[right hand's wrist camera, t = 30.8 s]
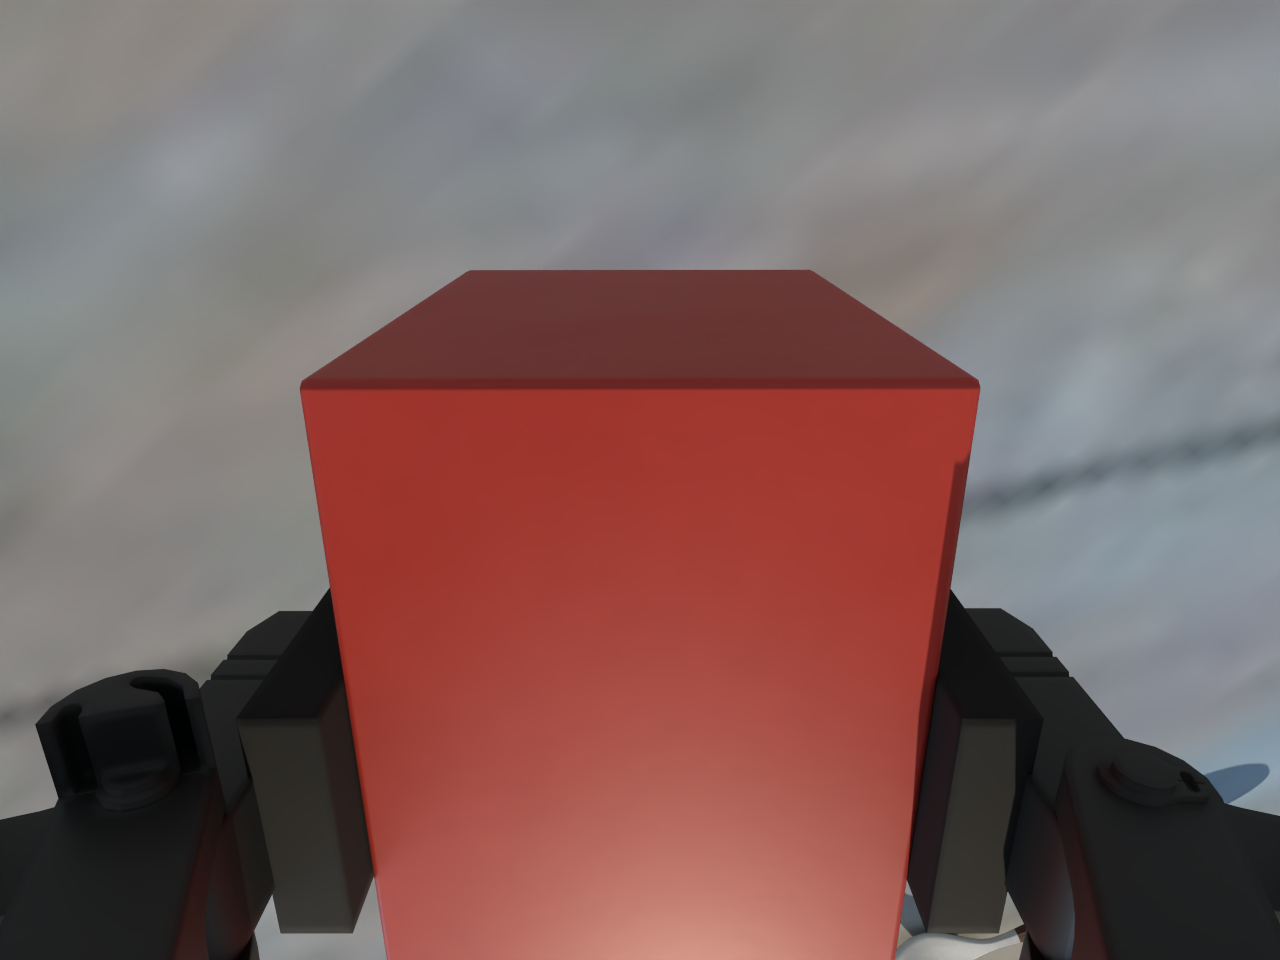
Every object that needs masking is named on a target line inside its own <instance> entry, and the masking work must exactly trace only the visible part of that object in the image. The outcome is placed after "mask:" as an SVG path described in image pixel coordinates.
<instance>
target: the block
mask: <svg viewBox="0 0 1280 960" xmlns="http://www.w3.org/2000/svg"><path fill="white" fill-rule="evenodd" d="M300 393H301V400H302V406H303V413H304V419H305V426H306V432H307V439H308V446H309V452H310V459H311V465H312V472H313V478H314V485H315V491H316V498H317V505H318V511H319V518H320V524H321V531H322V537H323V544H324V550H325V557H326V563H327V570H328V577H329V583H330V590H331V596H332V603H333V609H334V616H335V622H336V629H337V636H338V642H339V649H340V655H341V662H342V668H343V675H344V681H345V688H346V694H347V701H348V708H349V714H350V721H351V727H352V734H353V740H354V747H355V753H356V760H357V766H358V773H359V780H360V786H361V793H362V799H363V806H364V812H365V819H366V825H367V832H368V839H369V845H370V852H371V858H372V865H373V871H374V878H375V884H376V891H377V897H378V904H379V911H380V917H381V924H382V930H383V937H384V943H385V950H386V956H387V960H895V954H896V948H897V941H898V934H899V927H900V921H901V914H902V907H903V901H904V894H905V887H906V881H907V874H908V867H909V861H910V854H911V847H912V841H913V834H914V827H915V821H916V814H917V807H918V801H919V794H920V787H921V781H922V774H923V767H924V761H925V754H926V747H927V741H928V734H929V727H930V721H931V714H932V707H933V701H934V694H935V687H936V681H937V674H938V667H939V661H940V654H941V647H942V641H943V634H944V627H945V621H946V614H947V607H948V601H949V594H950V587H951V581H952V574H953V567H954V560H955V554H956V547H957V540H958V534H959V527H960V520H961V514H962V507H963V500H964V494H965V487H966V480H967V474H968V467H969V460H970V454H971V447H972V440H973V434H974V427H975V420H976V414H977V407H978V400H979V394H980V385H979V381H978V380H977V379H976V378H974V377H973V376H971V375H970V374H968V373H967V372H965V371H964V370H962V369H961V368H959V367H958V366H956V365H955V364H953V363H952V362H950V361H949V360H947V359H945V358H944V357H942V356H941V355H939V354H938V353H936V352H935V351H933V350H932V349H930V348H929V347H927V346H926V345H924V344H923V343H921V342H920V341H918V340H917V339H915V338H914V337H912V336H911V335H909V334H907V333H906V332H904V331H903V330H901V329H900V328H898V327H897V326H895V325H894V324H892V323H891V322H889V321H888V320H886V319H885V318H883V317H882V316H880V315H879V314H877V313H876V312H874V311H873V310H871V309H869V308H868V307H866V306H865V305H863V304H862V303H860V302H859V301H857V300H856V299H854V298H853V297H851V296H850V295H848V294H847V293H845V292H844V291H842V290H841V289H839V288H838V287H836V286H835V285H833V284H832V283H830V282H828V281H827V280H825V279H824V278H822V277H821V276H819V275H818V274H816V273H815V272H813V271H811V270H470V271H468V272H466V273H464V274H463V275H461V276H460V277H458V278H457V279H455V280H454V281H452V282H451V283H449V284H448V285H446V286H445V287H443V288H442V289H440V290H439V291H437V292H436V293H434V294H433V295H431V296H430V297H428V298H427V299H425V300H424V301H422V302H421V303H419V304H418V305H416V306H415V307H413V308H411V309H410V310H408V311H407V312H405V313H404V314H402V315H401V316H399V317H398V318H396V319H395V320H393V321H392V322H390V323H389V324H387V325H386V326H384V327H383V328H381V329H380V330H378V331H377V332H375V333H374V334H372V335H371V336H369V337H368V338H366V339H365V340H363V341H362V342H360V343H359V344H357V345H356V346H354V347H353V348H351V349H350V350H348V351H347V352H345V353H344V354H342V355H340V356H339V357H337V358H336V359H334V360H333V361H331V362H330V363H328V364H327V365H325V366H324V367H322V368H321V369H319V370H318V371H316V372H315V373H313V374H312V375H310V376H309V377H307V378H306V379H304V380H303V381H302V383H301V386H300Z"/></svg>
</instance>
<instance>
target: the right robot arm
mask: <svg viewBox="0 0 1280 960" xmlns="http://www.w3.org/2000/svg"><path fill="white" fill-rule="evenodd" d="M227 656H228V658H227V660H223V661H222V662H221V664H220V665H219V666H218V667H217V668H216V670H215V671H214V672H213V673H212V674H211V680H207V681H206V682H205V683H204V684H203V685H202V687H201V688H200V689H199V685H198V683H197V682H196V681H195V680H194V679H192V678H191V677H190V676H188V675H187V674H186V673H181V672H176V671H171V670H166V669H157V670H141V671H133V672H129V673H125V674H121V675H117V676H113V677H108V678H105V679H102V680H100V681H98V682H95V683H93V684H90V685H88V686H86V687H83V688H81V689H79V690H76V691H74V692H73V693H71V694H70V695H68V696H67V697H65V698H64V699H62V700H61V701H59V702H58V703H56V704H54V705H53V706H51V707H50V708H49V710H48V711H47V712H46V713H45V714H44V715H43V716H42V717H41V719H40V720H39V721H38V722H37V723H36V724H35V725H36V728H37V732H38V735H39V738H40V741H41V744H42V747H43V750H44V754H45V757H46V760H47V763H48V766H49V769H50V773H51V776H52V779H53V782H54V785H55V788H56V792H57V795H58V798H59V799H58V801H57V803H56V805H55V807H54V808H50V809H47V810H43V811H39V812H34V813H30V814H25V815H20V816H16V817H11V818H6V819H2V820H0V960H260V959H259V952H258V946H257V941H256V937H255V933H254V930H255V928H256V926H257V924H258V922H259V920H260V918H261V915H262V913H263V911H264V909H265V907H266V905H267V903H268V901H269V899H270V897H271V895H272V894H273V899H274V904H275V909H276V913H277V918H278V923H279V928H280V932H281V933H353V931H354V928H355V925H356V923H357V920H358V917H359V915H360V912H361V909H362V906H363V904H364V901H365V898H366V896H367V893H368V890H369V887H370V885H371V882H372V879H373V877H374V871H373V865H372V858H371V852H370V845H369V839H368V832H367V825H366V819H365V812H364V806H363V799H362V793H361V786H360V780H359V773H358V766H357V760H356V753H355V747H354V740H353V734H352V727H351V721H350V714H349V708H348V701H347V694H346V688H345V681H344V675H343V668H342V662H341V655H340V649H339V642H338V636H337V629H336V622H335V616H334V609H333V603H332V596H331V590H330V588H329V589H328V591H327V592H326V594H325V595H324V596H323V598H322V599H321V601H320V602H319V603H318V605H317V606H316V608H315V609H314V610H313V611H279V612H277V613H275V614H274V615H272V616H271V617H269V618H268V619H266V620H264V621H263V622H261V623H260V624H258V625H256V626H255V627H253V628H252V629H250V630H249V631H247V632H246V633H245V635H244V636H243V637H242V638H241V639H240V641H239V642H238V643H237V644H236V645H235V647H234V648H233V649H232V650H231V652H230V653H229V654H228V655H227ZM907 881H908V884H909V886H910V889H911V892H912V894H913V897H914V900H915V903H916V905H917V908H918V911H919V913H920V916H921V919H922V922H923V924H924V927H925V930H926V932H927V933H999V929H1000V925H1001V920H1002V915H1003V910H1004V906H1005V901H1006V896H1007V891H1008V892H1009V894H1010V896H1011V898H1012V900H1013V902H1014V904H1015V906H1016V908H1017V910H1018V912H1019V914H1020V916H1021V918H1022V920H1023V922H1024V924H1025V926H1026V933H1025V937H1024V941H1023V946H1022V950H1021V955H1020V959H1019V960H1280V816H1277V815H1272V814H1268V813H1263V812H1258V811H1254V810H1249V809H1244V808H1240V807H1236V806H1232V805H1229V804H1225V803H1224V802H1223V799H1222V797H1221V796H1220V795H1219V793H1218V792H1217V791H1216V789H1215V788H1214V787H1213V785H1212V784H1211V783H1210V781H1209V780H1208V779H1207V778H1206V777H1205V776H1204V775H1202V774H1201V773H1200V772H1198V771H1197V770H1196V769H1194V768H1193V767H1192V766H1190V765H1189V764H1188V763H1186V762H1185V761H1184V760H1181V759H1179V758H1177V757H1175V756H1173V755H1171V754H1169V753H1167V752H1165V751H1163V750H1161V749H1159V748H1156V747H1153V746H1150V745H1146V744H1143V743H1139V742H1135V741H1132V740H1128V739H1124V738H1123V736H1122V735H1121V734H1120V733H1119V732H1118V730H1117V729H1116V728H1115V727H1114V726H1113V724H1112V723H1111V722H1110V721H1109V720H1108V718H1107V717H1106V716H1105V715H1104V714H1103V712H1102V711H1101V710H1100V709H1099V708H1098V706H1097V705H1096V704H1095V703H1094V702H1093V700H1092V699H1091V698H1090V697H1089V696H1088V694H1087V693H1086V692H1085V691H1084V690H1083V688H1082V687H1081V686H1080V685H1079V684H1078V682H1077V681H1076V680H1075V679H1074V678H1073V677H1069V671H1068V670H1067V669H1066V668H1065V667H1064V665H1063V664H1062V663H1061V662H1060V661H1059V659H1058V658H1057V657H1053V655H1052V651H1051V650H1050V649H1049V647H1048V646H1047V645H1046V644H1045V643H1044V641H1043V640H1042V639H1041V638H1040V637H1039V635H1038V634H1037V633H1036V632H1035V631H1034V629H1033V628H1031V627H1029V626H1028V625H1026V624H1025V623H1023V622H1021V621H1020V620H1018V619H1017V618H1015V617H1014V616H1012V615H1010V614H1009V613H1007V612H1006V611H1004V610H1002V609H1001V608H964V607H963V606H962V604H961V603H960V601H959V600H958V599H957V597H956V596H955V594H954V593H953V592H952V590H951V589H950V594H949V601H948V607H947V614H946V621H945V627H944V634H943V641H942V647H941V654H940V661H939V667H938V674H937V681H936V687H935V694H934V701H933V707H932V714H931V721H930V727H929V734H928V741H927V747H926V754H925V761H924V767H923V774H922V781H921V787H920V794H919V801H918V807H917V814H916V821H915V827H914V834H913V841H912V847H911V854H910V861H909V867H908V874H907Z"/></svg>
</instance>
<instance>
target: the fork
mask: <svg viewBox="0 0 1280 960" xmlns="http://www.w3.org/2000/svg"><path fill="white" fill-rule="evenodd" d="M1025 933H1026V926H1025V924H1023V925H1021V926H1019V927H1017V928H1015V929H1013V930H1011V931H1008V932H1006V933H1004V934H1001V935H999V936H996V937H993V938H988V939H974V938H967V937H962V936H957V935H951V934H946V933H922V934H918V935H915V936H913V937H911V938H909V939H908V940H906V941H905V942H904V943H903V944H901V945H900V946H899V947H898V948H897V949H896V954H895V960H974V959H976V958H977V957H979V956H981V955H983V954H985V953H988V952H990V951H993V950H995V949H998V948H1001V947H1005V946H1008V945H1012V944H1016V943H1020V942H1023V941H1024V937H1025Z"/></svg>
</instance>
